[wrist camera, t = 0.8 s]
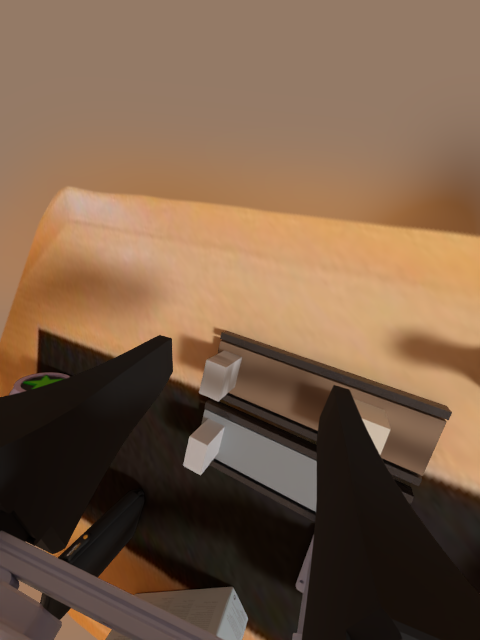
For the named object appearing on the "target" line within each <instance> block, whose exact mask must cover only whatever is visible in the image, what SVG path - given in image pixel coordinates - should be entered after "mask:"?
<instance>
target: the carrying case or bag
mask: <svg viewBox="0 0 480 640" xmlns="http://www.w3.org/2000/svg"><path fill="white" fill-rule="evenodd" d="M143 505H144V492H143V490H141V489H136V490H131V491H130V492H128V493H127V494H126V495H125V496H124V497H123V498H121V499H120V500H119V501H118V502H117V503H116V504H115V505H114V506H113V507H112V508H111V509H109V510H108V511H107V512H106V513H105V514H104V515H103V516H102V517H101V518H100V519H99V520H97V521H96V522H95V523H94V524H93V525H92V526H91V527H90V528H89V529H88V530H87V531H86V532H85V533H84V534H83V535H81V536H80V537H79V538H78V539H77V540H76V541H75V542H74V543H73V544H72V545H71V546H70V547H69V548H68V549H67V550H65V551H64V552H63V553H62V554H61V555H60V556H59V557H58V558H59V559H61V560H63V561H65V562H67V563H69V564H71V565H73V566H75V567H77V568H79V569H81V570H83V571H85V572H87V573H89V574H91V575H93V576H95V577H97V578H98V576H99V575H100V574H101V573H102V572H103V571H104V569H105V568H106V567H107V566H108V565H109V564H110V562H111V561H112V560H113V559H114V558H115V557H116V555H117V554H118V553H119V552H120V551H121V550H122V548H123V547H124V546H125V545H126V544H127V543H128V541H129V540H130V539H131V538H132V536H133V534H134V533H135V530H136V527H137V524H138V521H139V518H140V515H141V511H142V508H143ZM40 604H41V605H42V606H43V608H44V609H46V610H47V611H48V612H49V613H50V614H52V615H53V616H54V617H56V618H57V619H59V620H60V619H61V618H62V617H63V616H64V615H65V614H66V613H67V612H68V611H69V610H70V608H71V607H69V606H67V605H65V604H63V603H61V602H59V601H57V600H55V599H53V598H52V597H50V596H48V595H46V594H44V593H42V597H41V602H40Z"/></svg>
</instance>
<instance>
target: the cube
mask: <svg viewBox="0 0 480 640" xmlns="http://www.w3.org/2000/svg"><path fill="white" fill-rule="evenodd" d="M353 399H354V398H353ZM354 401H355V404H356V406H357V408H358V411H359V413H360V415H361V418H362V420H363V422H364V424H365V426H366V428H367V431H368V433H369V435H370V437H371V439H372V441H373V443H374V445H375V447H376V449H377V450H378V452H379V454H380V455H381V452H382V450H383V447H384V445H385V442H386V440H387V437H388V435H389V432H390V430H391V429H390V426H389V422H388V419H387V416H386V412H385V410H384V409H381V408H378V407H375V406H373V405H370V404H367V403H365V402H362V401H359V400H357V399H354Z"/></svg>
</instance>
